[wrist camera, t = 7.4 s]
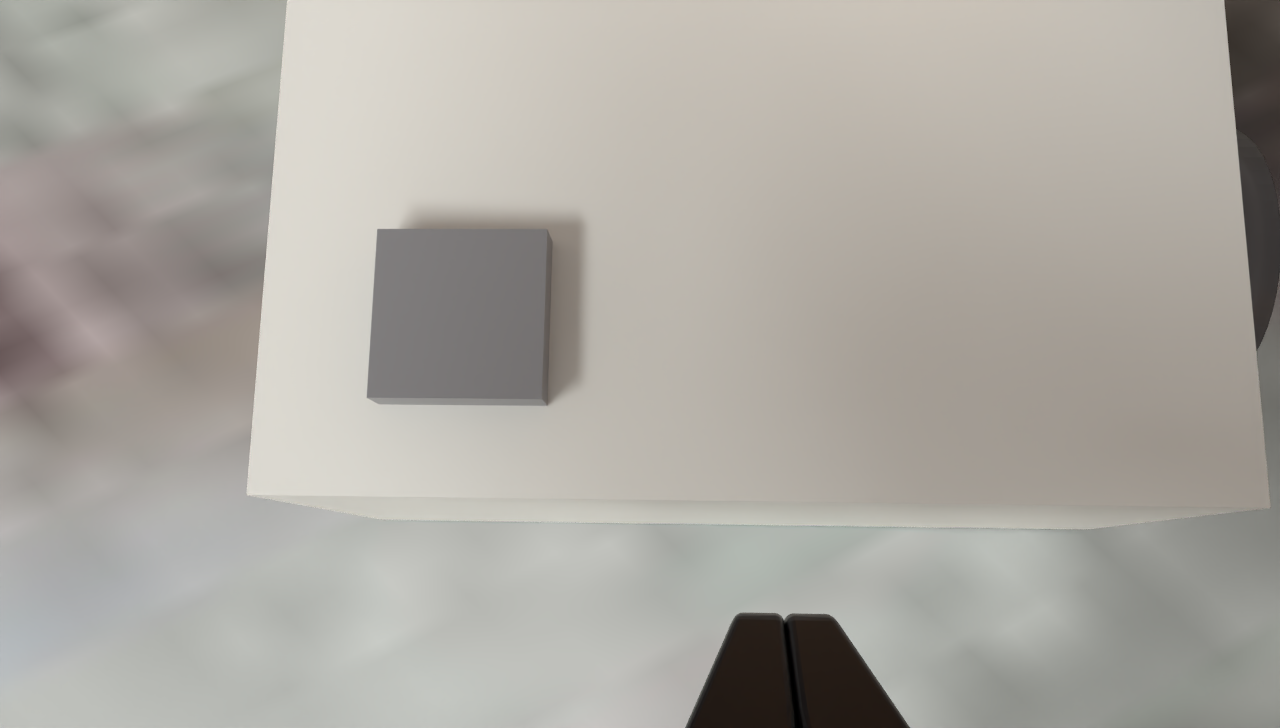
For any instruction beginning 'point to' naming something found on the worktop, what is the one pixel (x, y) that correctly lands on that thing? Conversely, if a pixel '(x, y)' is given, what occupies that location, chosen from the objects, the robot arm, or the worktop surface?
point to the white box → (764, 264)
